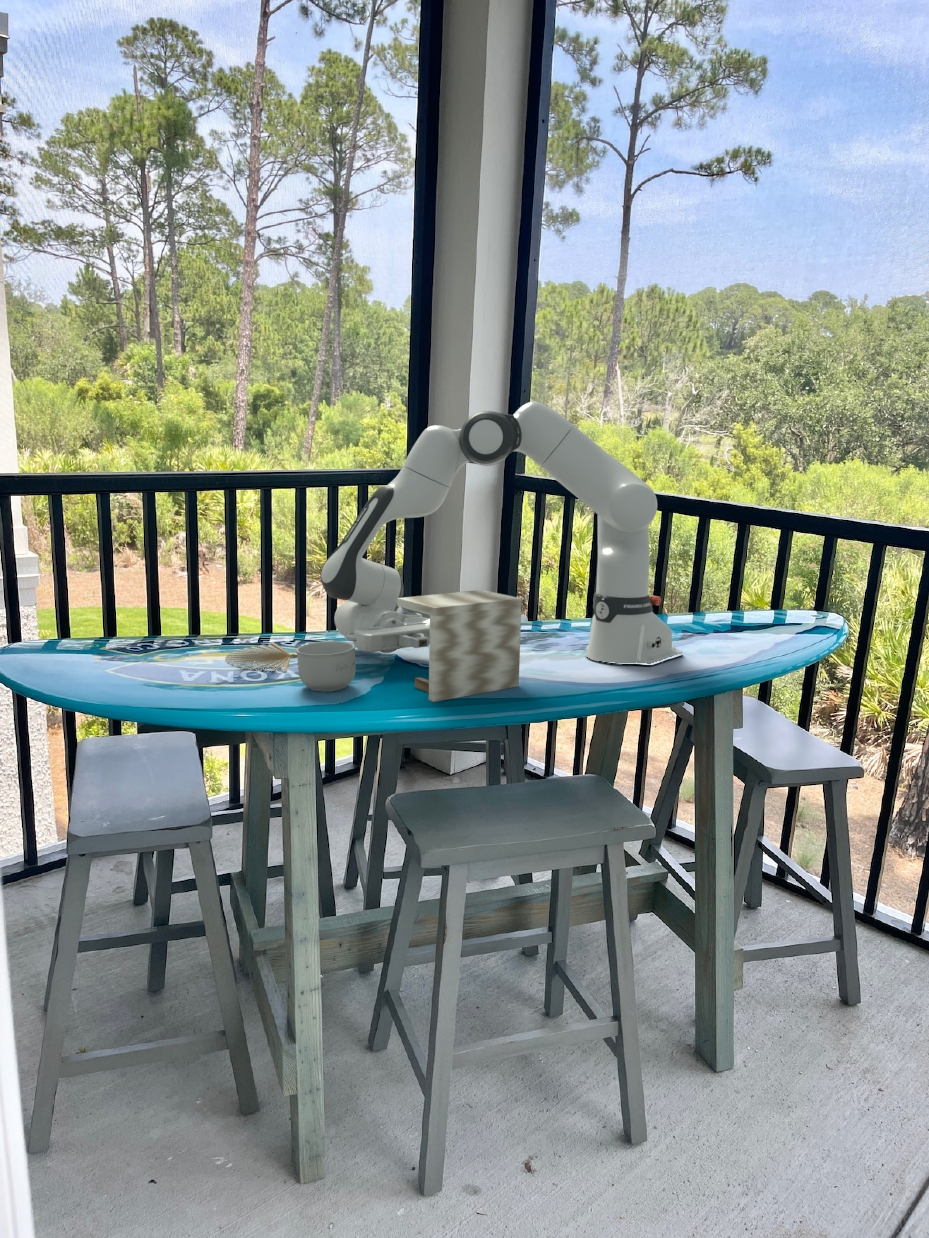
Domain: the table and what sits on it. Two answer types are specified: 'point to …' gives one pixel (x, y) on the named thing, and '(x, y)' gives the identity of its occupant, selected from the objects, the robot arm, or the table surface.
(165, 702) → the table surface
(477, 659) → the marbled side table
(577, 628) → the table surface
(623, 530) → the robot arm
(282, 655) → the hand fan
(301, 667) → the teacup
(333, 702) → the table surface
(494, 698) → the table surface
